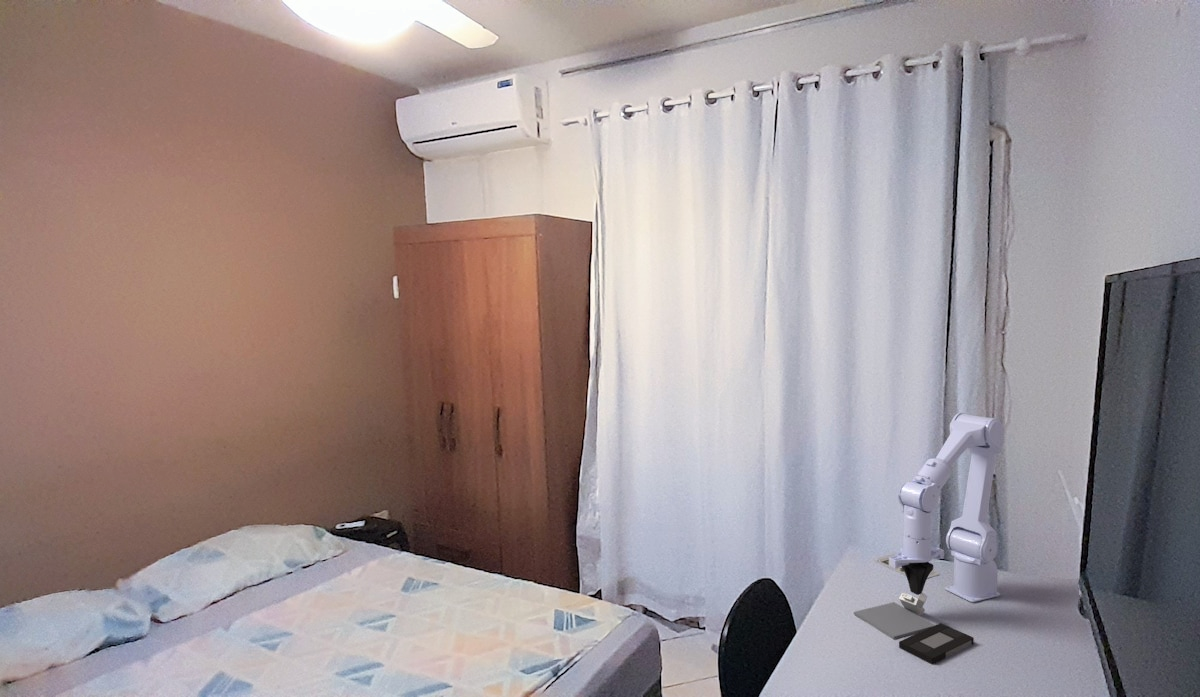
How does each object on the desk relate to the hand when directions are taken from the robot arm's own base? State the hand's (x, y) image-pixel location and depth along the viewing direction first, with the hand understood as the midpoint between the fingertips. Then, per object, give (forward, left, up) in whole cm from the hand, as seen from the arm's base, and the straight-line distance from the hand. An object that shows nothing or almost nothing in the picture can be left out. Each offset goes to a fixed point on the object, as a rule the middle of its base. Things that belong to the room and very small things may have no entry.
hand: (916, 592), depth 152 cm
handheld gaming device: (-19, -21, -6) cm, 29 cm away
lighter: (-2, 0, -5) cm, 5 cm away
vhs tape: (+6, +11, -6) cm, 15 cm away
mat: (+6, 0, -5) cm, 8 cm away
